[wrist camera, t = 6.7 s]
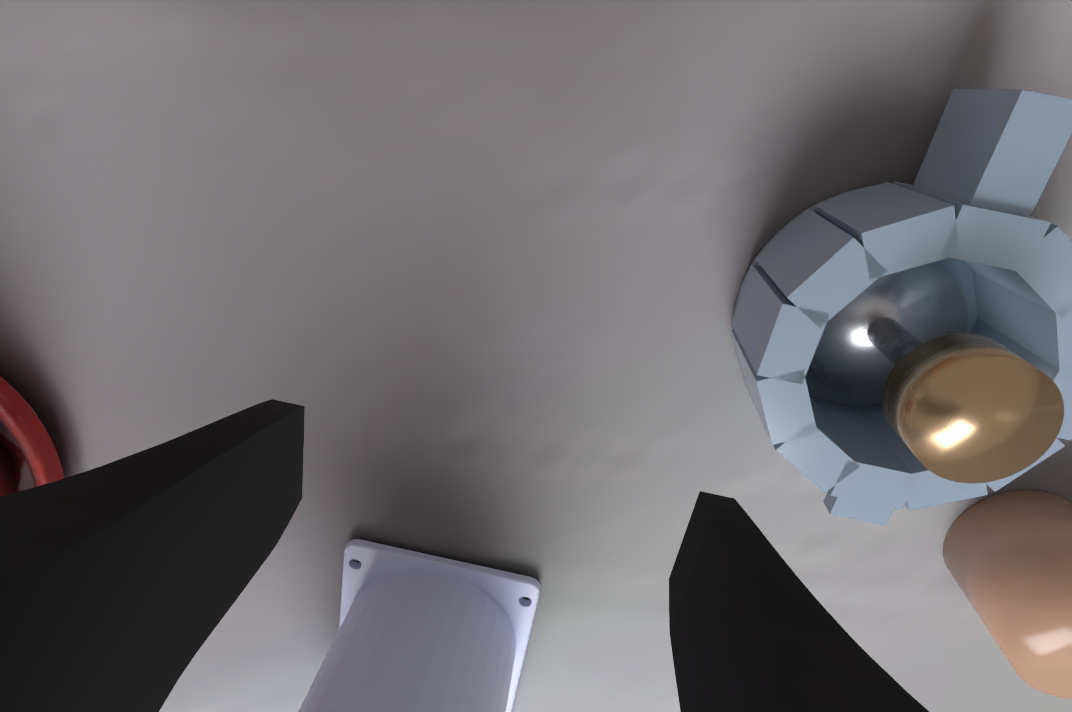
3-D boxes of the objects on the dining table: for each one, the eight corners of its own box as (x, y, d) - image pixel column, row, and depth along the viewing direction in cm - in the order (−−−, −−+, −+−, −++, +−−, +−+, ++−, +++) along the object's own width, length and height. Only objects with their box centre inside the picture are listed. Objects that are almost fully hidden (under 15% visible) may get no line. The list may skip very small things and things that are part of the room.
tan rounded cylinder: (1058, 602, 23) (1148, 710, 19) (926, 585, 24) (987, 686, 20) (1110, 499, 21) (1222, 594, 17) (966, 481, 22) (1041, 570, 18)
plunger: (920, 406, 20) (1039, 531, 14) (776, 376, 20) (839, 488, 15) (987, 268, 18) (1155, 350, 13) (829, 236, 18) (925, 303, 13)
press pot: (932, 468, 22) (1002, 550, 18) (696, 418, 22) (715, 489, 18) (1114, 123, 17) (1260, 134, 13) (813, 64, 17) (870, 58, 13)
